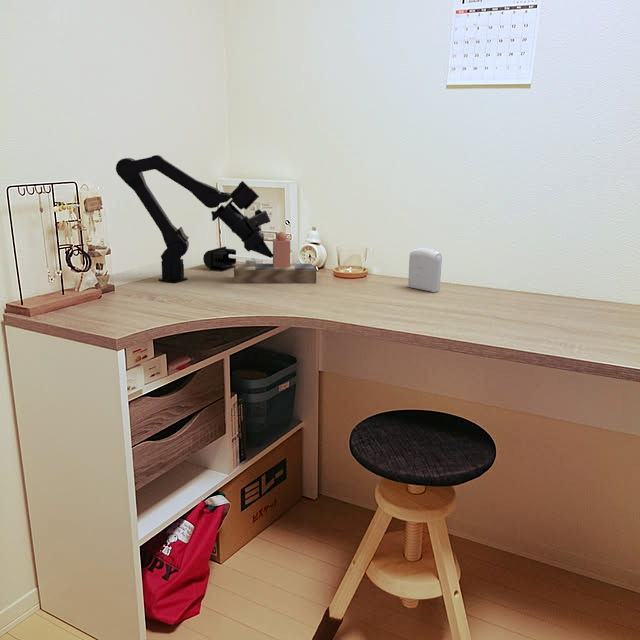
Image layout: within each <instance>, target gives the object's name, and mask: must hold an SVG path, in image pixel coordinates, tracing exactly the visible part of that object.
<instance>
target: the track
mask: <svg viewBox="0 0 640 640" xmlns="http://www.w3.org/2000/svg"><path fill="white" fill-rule="evenodd" d="M233 284H317V269H316V267H315V265H314V264H313V263H290V267H273V263H263V264H252V263H246V262H245V263H242V262H241V263H239V262H236V264H234V268H233Z"/></svg>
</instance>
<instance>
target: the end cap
mask: <svg viewBox="0 0 640 640" xmlns="http://www.w3.org/2000/svg"><path fill="white" fill-rule="evenodd" d="M230 255H237V249H234V248H227V246H221V247H217V248H214V249H210V250H207V251H206V252H204V254H203V258H202V259H203V260H202V261H203V264H204V265H205V267H207V268H208V269H209V270H211V271H214V272H225V271H228V270H232V269H234V265H236V263H237V258H236V257H235V258H233V257H229V256H230Z"/></svg>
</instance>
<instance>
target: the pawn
mask: <svg viewBox="0 0 640 640" xmlns="http://www.w3.org/2000/svg"><path fill="white" fill-rule="evenodd" d="M287 237H288V236H287V234H286V233H285V232H283V231H280V232H278V233H277V235H276V238H273V239H272V254H273V257H272V264H273V267H290V264H291V240H290V239H289V238H287Z"/></svg>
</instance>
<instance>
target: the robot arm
mask: <svg viewBox="0 0 640 640" xmlns="http://www.w3.org/2000/svg"><path fill="white" fill-rule="evenodd" d="M153 170H156V171H157V172H159V173H161V174H162V175H163V176H165V177H167V178H169V179H171V181H173V182H175V183H177V184H178V185H179V186H180V187H182V188H184V189H185V190H187V191H188V192H190V193H191V194H192V195H193V196H194V197H195V198H196V199H197V200H198V201H199V202H201V204H203V206H204V207H206V208H208V209H216V208H217V207H218V208H217V209H216V210H211V217H212V218H211V221H212V222H214V221H216V220H217V219H218V218H219V219H220V220H221V221H222V222H223V223H224V224H225V226H227V228H229V229H230V231H231V233H233V234H235V235H236V236H237V237H238V238H239V239H240V240H241V242H242V243H243V248H244V249H245V250H246V251H247V252H251V251H252V252H254V253H257V254H260V255H261V256H262V255H263V256H265V257H268V258H271V259H273V251H271V249H270V248H269V247H268V245H267V243H266V242H265V239H264V238H265V235H264V232H262V228H261V226H262V225H265V224H268V223H270V222H271V219H270V216H269V214H268V212H267V211H266V210H261V209H259V208H258V209H257V210H254V215H253V216H250V217H249V216H248V215H244V214H243V213H242V212H241V210H244V209H245V210H246V211H247V210H248V209H249V208H250V207H251V206H252V205H253V204H254V203H255V202H256V200H257V199H259V197H260V195H259V194H258V193H257V192H255V190H254V189H253V188H252V187H250V186H249V185H248V184H247V183H245V181H243V180H242V181H240V183H238V185H237V186H236V187H235V189H233V191H232V192H225V191H221V190H219V189H218V188H216V187H214V186H211V185H209V184H208V183H205V182H203V181H200V180H198V179H196V178H194V177H192V176H191V175H190V174H188V173H186V172H185V171H183V170H181V169H180V168H179V167H177V166H176V165H174V164H172V163H171V162H169V161H168V160H166V159H164V157H163V156H162V155H158V154H155V155H151V156H150V157H146V158H139V159H135V158H131V157H124V158H121V159H120V160H118V161H117V162H116V165H115V171H116V173H117V175H118V177H120V179H121V180H122V182H124V183H125V184H126V185H127V186H128V187H130V188H131V189H132V191H133V192H134V193H135V194H136V196H137V197H138V199H139V200H140V202H141V204H142V205H143V206H144V208H145V209H146V211H147V213H148V214H149V216H150V217H151V219H152V220H153V222H154V223H155V225H156V226H157V228H158V229H159V231H160V233H161V235H162V239H163V241H164V242H163V243H164V244H165V246H166V248H165V250H163V252H162V254H161V255H160V258H161V262H160V263H161V277H159V278H158V279H157V280H158V281H160V282H167V283H180V282H183V281H186V280H188V277H185V264H184V259H183V258H182V257H183V256H184V255H186V253H187V252H188V250H189V246H190V241H189V236H187V234H186V233H185V231H184V228H183V227H182V226H180V227H179V228H177V227H176V226H175V225H174V224H173V223H172V222H171V219H169V217H168V215H167V214H166V211H164V209H163V208H162V206H161V205H160V203H159V201H158V200H157V198H156V197H155V195H154V194H153V192H152V191H151V189H150V188H149V186H148V184H147V183H146V179H145V176H144V172H147V171H153ZM228 201H229V202H228ZM223 203H227V204H226V205H225V206H224V205H223Z"/></svg>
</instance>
